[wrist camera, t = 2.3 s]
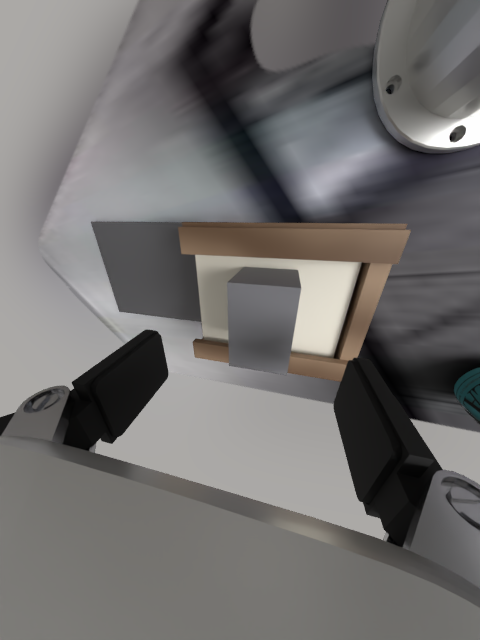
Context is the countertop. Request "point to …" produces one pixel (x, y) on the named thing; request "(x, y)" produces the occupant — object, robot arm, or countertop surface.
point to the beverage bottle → (469, 392)
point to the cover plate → (311, 303)
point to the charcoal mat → (149, 269)
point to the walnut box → (307, 244)
